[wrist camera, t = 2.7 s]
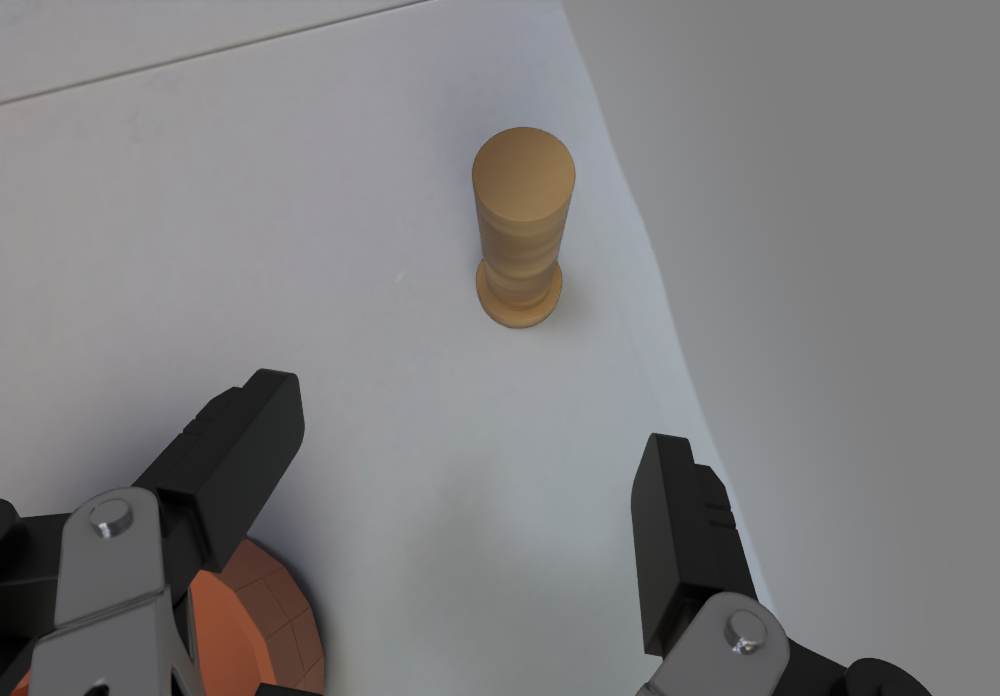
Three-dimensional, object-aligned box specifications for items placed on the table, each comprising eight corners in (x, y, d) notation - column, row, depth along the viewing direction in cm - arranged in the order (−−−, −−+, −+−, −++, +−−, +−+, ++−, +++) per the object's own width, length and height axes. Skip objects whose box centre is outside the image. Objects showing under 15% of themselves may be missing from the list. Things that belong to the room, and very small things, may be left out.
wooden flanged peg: (575, 277, 31) (619, 153, 19) (530, 344, 31) (544, 263, 18) (506, 235, 32) (503, 88, 19) (461, 300, 31) (427, 191, 18)
